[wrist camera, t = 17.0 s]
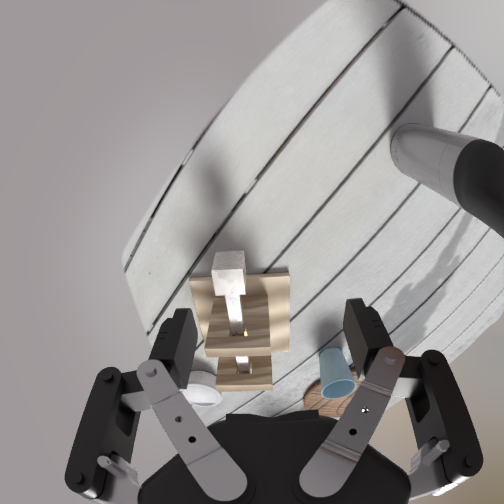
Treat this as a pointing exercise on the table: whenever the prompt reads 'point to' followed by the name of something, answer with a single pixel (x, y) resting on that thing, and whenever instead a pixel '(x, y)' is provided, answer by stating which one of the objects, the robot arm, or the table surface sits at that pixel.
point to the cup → (335, 374)
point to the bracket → (256, 326)
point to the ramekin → (202, 389)
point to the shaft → (232, 293)
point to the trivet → (325, 405)
